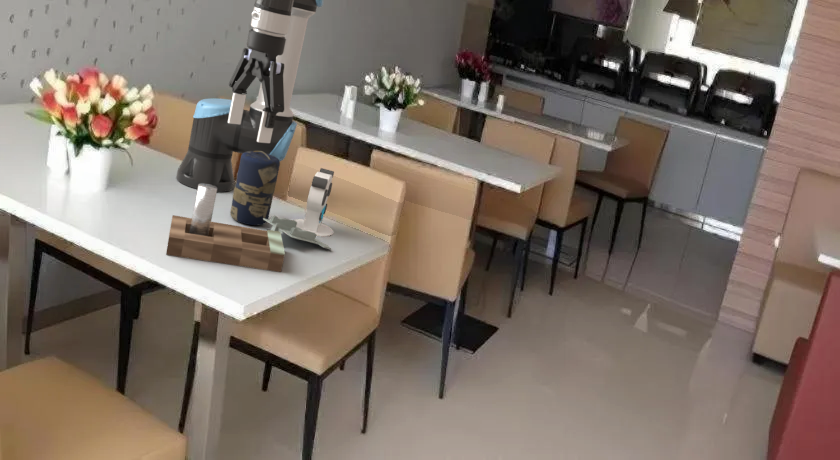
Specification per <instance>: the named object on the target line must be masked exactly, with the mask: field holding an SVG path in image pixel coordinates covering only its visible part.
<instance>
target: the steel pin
mask: <svg viewBox="0 0 840 460" xmlns="http://www.w3.org/2000/svg"><path fill="white" fill-rule="evenodd" d="M217 193H218V192H217V187H216V186H214V185H210V184H204V183H202V184H198V189H196V195H195V200H194V205H193V206H194V207H193V212H192V217H191V218H192V221H191V227H190V232H189V233H190V234H196V235H202V236H208V235H209V230H210V224H211V222H212V218H213V214H214V208H215V204H216V197H217Z"/></svg>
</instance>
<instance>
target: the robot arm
mask: <svg viewBox="0 0 840 460" xmlns="http://www.w3.org/2000/svg"><path fill="white" fill-rule="evenodd" d="M323 6H324V0H255V1H254V5H253V11H252V12H251V21H250V26H251V27H252V28H251V29H250V30H249V31H248V34H247V40H246V41H247V42H246V47H247V48H246V47H244V48H243V49H242V53H241V56H240V58H239V60H238V63H237V65H236V68H235V69H234V71H233V74H232V76H231V78H230V80H229V83H228V87H229V88H231V92H232V97H231V99H227V98H215V97H214V98H213V97H211V98H204V99H200V100H199V101H198V102H197V103H196V106H195V111H194V114H193V117H192V118H193V120H192V126H191V131H190V136H189V137H190V138H189V144H188V149H187V151H186V152H187V153H186V154H185V156H184V158H183V159H182V161H181V163H180V165H179V167H178V168H177V172H176V178H175V179H176V180H177V181H178V182H179V183H181V184H182V185H184V186H187V187H190V188H193V189H196V190H197V189H198V184H202V183H204V184H210V185H214V186H216V187H217V193H221V192H223V193H224V192H229V191H231V190H232V189H233V187H234V182H235V178H234V171H233V163H232V158H233V153H238V154H241V155H242V154H243V153H244V152H247V151H263V152H264V153H266V154H269V155H272V156H275V157H276V158H278V159H279V161H280V162H282V161H284V160H285V158H286V156H287V153H288V152H289V149H290V146H291V143H292V141H293V138H294V135H295V132H296V129H297V126H298V122H296V121H295V120H294V114H295V113H293V111H292V109H291V108H290V106H291V101H292V97H293V92H294V87H295V82H296V77H297V73H298V69H299V68H298V67H299V64H300V59H301V54H302V49H303V45H304V40H305V35H306V30H307V27H308V26H307V25H308V22H309V21H308V20H309V18H311V17H312V16H313V15H315V14H316V12H317V8H322V7H323ZM256 78H257V79H258V81H259V82H260V86H259V91H258V95H257V99H256V100H255V101H253V102H252V103H251V104H250V106H249V110H247V109H245V104H246V103H245V102H246V97H247V94H248V93H247V92H248V91H247V90H248V88H249V87H250V86H251V85H252V83H253V82H254V81H255V79H256Z"/></svg>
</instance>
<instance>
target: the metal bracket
mask: <svg viewBox="0 0 840 460" xmlns="http://www.w3.org/2000/svg"><path fill="white" fill-rule="evenodd" d="M263 220H265V221H267V222H266V223H269V225H271V229H270V230H273V231H279V232H281V236H282V234H283V233H284V234H286V235H287V236H288V237H290V238H292V239H296V240H300V241H304V242H308V243H311V244H316V245H319V246H320V247H321V248H322V249H328V250H332V247H330V246H329V245H327V244H326V243H324V242H323V241H321V240H319V239H318V238H317V237H316V236H317V235H316V234H315V233H313V232H310V231H306V230H302V229H300V228H298V227H296V225H297V222H296V221H294V220H295V219H291V218H286V217H283V218H279V217H278V216H276V215H275V214H273V215H272V216H271V217H270V219H269V218H268V219H264V218H263Z"/></svg>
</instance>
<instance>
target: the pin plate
mask: <svg viewBox="0 0 840 460" xmlns="http://www.w3.org/2000/svg"><path fill="white" fill-rule="evenodd" d="M191 221H192V217H188V216H187V217H185V216H180V215H173V214H172V217H171V224H170V228H169V234H168V240H167V245H168V246H167V245H166V253H165V256H173V257H178V258H179V257H180V258H186V259H192V260H193V259H194V260H199V261H204V262H205V261H206V262H210V263H211V262H212V263H219V264H226V265H231V266H237V267H245V268H251V269H258V270H265V271H271V272H278V273H281V272H282V268H283V264H284V260H285V255H286V253H285V248H284V243H283V237H282V235H281V232H279V231H273V230H271V229H267V230H263V229H257V228H253V227H252V228H251V227H248V226H247V227H246V226H239V225H234V224H229V223H228V224H226V223H221V222H216V221H211V224H210V230H209V235H208V236H202V235H196V234H190V233H189V232H190V227H191Z"/></svg>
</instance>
